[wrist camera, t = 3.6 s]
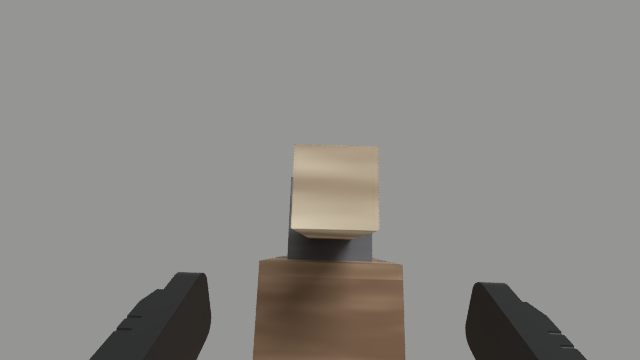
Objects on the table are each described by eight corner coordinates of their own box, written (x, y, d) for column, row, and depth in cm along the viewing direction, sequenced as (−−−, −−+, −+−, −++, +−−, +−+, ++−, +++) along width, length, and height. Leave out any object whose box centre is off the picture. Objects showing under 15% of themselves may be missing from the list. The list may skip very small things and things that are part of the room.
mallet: (425, 278, 12) (418, 108, 13) (243, 272, 12) (256, 105, 13) (361, 258, 33) (361, 194, 35) (296, 256, 33) (299, 192, 35)
